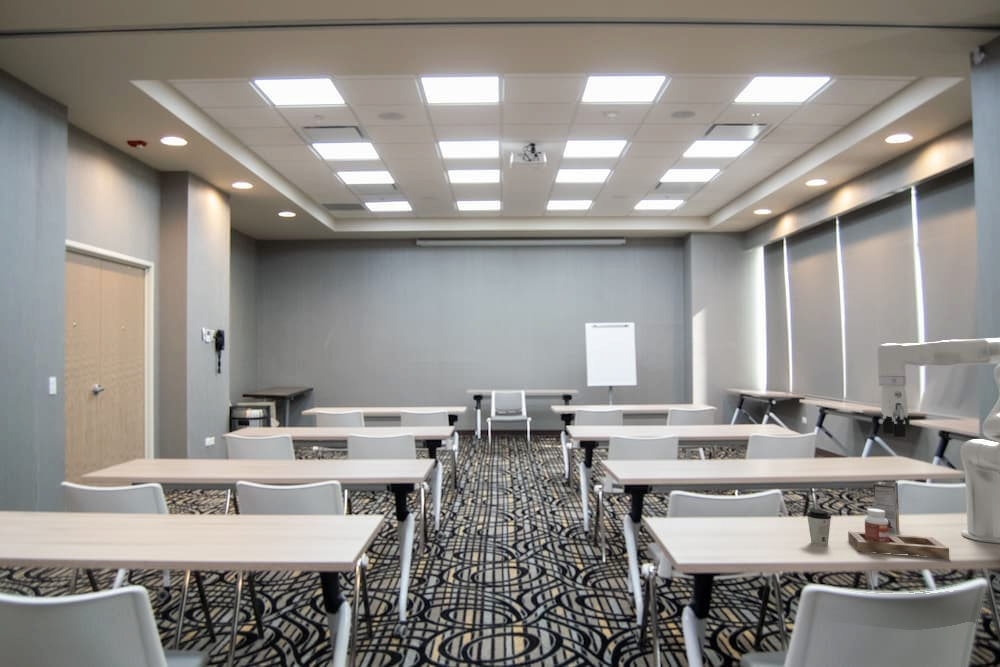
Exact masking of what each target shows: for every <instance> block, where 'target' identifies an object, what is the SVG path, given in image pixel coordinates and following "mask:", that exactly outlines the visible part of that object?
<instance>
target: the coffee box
mask: <svg viewBox="0 0 1000 667" xmlns="http://www.w3.org/2000/svg"><path fill="white" fill-rule="evenodd" d="M898 483H899V482H894V481H883V480H876V481H875V482H874V484H873V503H874V504H873V507H874V508H873V509H880V510H884V511H885V516H884V518H886V519H887V520H888V530H889V534H894V535H899V532H900V520H899V519H900V514H899V511H900V510H899V508H900V507H899V489H898V488H899V486H898Z"/></svg>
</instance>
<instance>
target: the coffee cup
mask: <svg viewBox="0 0 1000 667" xmlns="http://www.w3.org/2000/svg"><path fill="white" fill-rule="evenodd" d="M806 517H807V523H808V529H809V536H810V542H811V544H812V545H814V544H815V545H814V546H818V545H827V546H828V545H829V540H830V539H829V538H830V529H831V520H832V516H831V514H829V513H828V511H826V510H823V509H815V508H814V509H810V510H809V511H808V512H807V513H806Z"/></svg>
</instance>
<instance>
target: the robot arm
mask: <svg viewBox="0 0 1000 667" xmlns="http://www.w3.org/2000/svg"><path fill="white" fill-rule="evenodd" d="M981 365H995V367H994V370H993V377H994V380H995V382H996V385H997V388H998V391H999V393H1000V337H991V338H989V337H988V338H973V339H971V338H969V339H950V340H949V339H947V340H940V341H933V342H921V343H920V342H918V343H917V342H916V343H915V342H914V343H912V342H910V343H885V344H884V343H883V344H880V345H878V346H877V373H878V374H877V375H878V376H877V377H878V378H877V380H878V387H881V393H880V394H881V396H880V402H881V403H880V404H881V405H880V406H881V407H880V408H881V413H882V433H884V434H891V435H892V436H893V437H895V438H897V437H898V438H899V437H900V438H906V421H905V420H906V418H908V416H909V412H908V410H909V409H908V400H907V399H908V398H907V392H906V387H907V377H906V376H907V374H906V373H907V371H906V370H907V369H906V368H907V367H925V366H939V367H940V366H941V367H953V366H954V367H956V366H958V367H959V366H961V367H962V366H981ZM998 396H999V397H998V400H997V401H996V402H995V405H994V406H993V407H992V409H990V412H989V413H988V415H987V417H986V419H985V420H984V421H983V422H982V427H981V431H982V434H983V436H985V437H986V438H987V439H982V438H974V439H969V440H967V441H965V442H964V443H963V444H962V446H961V447H960V451H959V452H960V459H961V462H962V467H963V470H964V478H965V481H964V482H965V500H966V501H965V502H966V503H965V504H966V505H965V506H966V523H967V524H966V525H967V529H963V530H961V535H962V536H963V537H965V538H968V539H970V540H975V541H979V542H985V543H990V544H1000V394H999V395H998ZM989 439H990V440H989Z"/></svg>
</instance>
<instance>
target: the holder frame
mask: <svg viewBox="0 0 1000 667" xmlns="http://www.w3.org/2000/svg"><path fill="white" fill-rule="evenodd" d="M847 534H848V535H847V537H848V538H847V539H848V542H849V543H850V544H851V545H852V546H853V547H854V549H856V550H857V551H858V552H859V551H861V552H860V553H865V552H876V553H875V554H878V553H891V554H908V555H919V556H927V557H926V558H929V557H934V558H933V559H942V558H949V559H950V548H949V547H947V546H946V545H944V544H943V543H942V542H940V541H939V540H937V539H936V538H934V537H933V536H921V535H908V534H904V535H903V534H897V535H894V534H889V542H878V541H866V540H865V531H848V532H847ZM891 554H890V555H891Z"/></svg>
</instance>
